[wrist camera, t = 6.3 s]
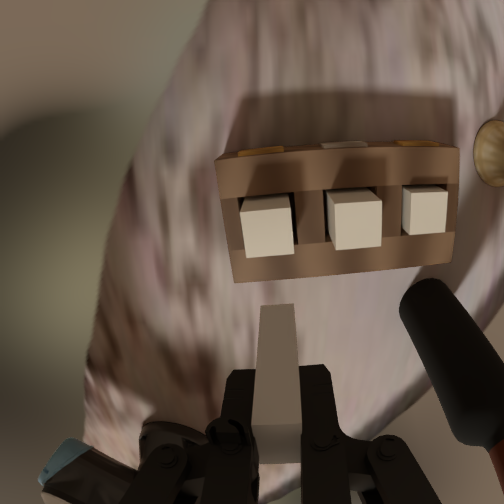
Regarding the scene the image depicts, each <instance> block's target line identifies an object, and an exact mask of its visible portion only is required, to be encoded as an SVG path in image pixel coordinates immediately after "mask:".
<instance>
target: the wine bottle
mask: <svg viewBox="0 0 504 504" xmlns="http://www.w3.org/2000/svg"><path fill="white" fill-rule="evenodd" d="M399 313H400V318H401V320H402V322H403V323H404V325H405V327H406V329H407V331H408V333H409V335H410V337H411V339H412V342H413V344H414V346H415V348H416V350H417V352H418V354H419V356H420V358H421V360H422V362H423V365H424V367H425V369H426V371H427V373H428V376H429V378H430V380H431V382H432V385H433V387H434V389H435V391H436V393H437V396H438V398H439V401H440V403H441V406H442V408H443V410H444V413H445V415H446V418H447V420H448V423H449V425H450V428H451V431H452V432H453V434H454V436H455V437H456V439H457V440H458V441H459V442H461V443H463V444H465V445H470V446H482V447H484V448H485V449H486V450H487V452H488V453H489V455H490V458H491V460H492V463H493V465H494V468H495V471H496V473H497V476H498V479H499V482H500V485H501V487H502V491H503V494H504V363H503V361H502V360H501V358H500V357H499V355H498V354H497V352H496V351H495V349H494V348H493V346H492V345H491V344H490V342H489V341H488V339H487V338H486V337H485V335H484V334H483V332H482V331H481V330H480V328H479V327H478V326H477V324H476V323H475V321H474V320H473V319H472V317H471V316H470V315H469V313H468V312H467V311H466V310H465V308H464V307H463V306H462V304H461V303H460V302H459V301H458V299H457V298H456V297H455V296H454V294H453V293H452V292H451V291H450V289H449V288H448V287H447V286H446V284H445V283H443V282H442V281H441V280H438V279H434V278H430V279H424V280H422V281H419V282H417V283H416V284H414V285H413V286H412V287H410V288H409V290H408V291H407V292H406V293H405V294H404V296H403V298H402V300H401V302H400V307H399Z"/></svg>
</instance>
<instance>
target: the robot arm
mask: <svg viewBox="0 0 504 504" xmlns="http://www.w3.org/2000/svg"><path fill="white" fill-rule="evenodd" d="M205 433H206V436H207V437H206V436H204V435H203V434H201V433H199V432H198V431H196V430H193V429H191V428H188V427H186V426H182V425H179V424H174V423H168V422H153V423H149V424H146V425H145V426H144V427H143V428H142V431H141V433H140V436H139V456H140V464H139V467H138V470H135V469H133V468H131V467H129V466H127V465H125V464H123V463H121V462H119V461H117V460H115V459H113V458H111V457H109V456H107V455H106V454H104V453H102V452H100V451H99V450H97V449H95V448H94V447H93V446H89V445H87V444H85V443H83V442H82V441H80V440H78V439H76V438H67V439H66V440H64V441H63V442H62V444H61V445H60V446H59V447H58V449H57V450H56V451H55V452H54V454H53V455H52V457H51V458H50V459H49V461H48V463H47V464H46V466H45V467H44V469H43V471H42V472H41V473H40V475H39V477H38V481H39V483H40V484H41V485H42V486H44V488H43V490H42V492H41V496H42V498H43V500H44V502H45V504H258V496H259V480H260V477H259V472H258V469H259V463H260V464H285V463H301V504H351V496H350V490H353V491H357V493H358V495H359V497H360V500H361V502H362V504H442V503H441V502H440V500H439V498H438V496H437V495H436V493H435V491H434V489H433V488H432V486H431V484H430V483H429V481H428V480H427V478H426V476H425V474H424V473H423V471H422V469H421V468H420V466H419V464H418V462H417V461H416V459H415V458H414V456H413V454H412V453H411V451H410V449H409V448H408V446H407V444H406V443H405V442H404V441H403V440H402V439H401V438H399V437H397V436H395V435H383V436H379V437H377V438H376V439H374V440H373V441H365V440H358V439H354V438H351V437H349V436H347V435H346V434H345V433H343V432H342V430H341V429H340V427H339V424H338V417H337V411H336V404H335V398H334V393H333V386H332V380H331V374H330V372H329V370H328V369H327V368H326V367H325V365H324V364H319V365H307V366H299V365H298V351H297V338H296V325H295V313H294V304H280V305H264V306H261V309H260V322H259V335H258V348H257V361H256V369H244V370H233V371H232V373H231V374H230V375H229V377H228V378H227V381H226V387H225V393H224V400H223V404H222V410H221V416H220V418H217V419H215V420H213V421H212V422H211V423H210V424H209V425H208V426H207V428H206V430H205Z"/></svg>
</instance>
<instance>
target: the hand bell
mask: <svg viewBox="0 0 504 504" xmlns="http://www.w3.org/2000/svg"><path fill="white" fill-rule="evenodd" d="M473 155H474V163H475V167H476V170H477V172H478V174H479V176H480V177H481V179H482V180H483V181H484V182H485V183H487V184H488V185H490V186H493V187H500V186H504V122H502V121H498V120H493V121H489V122H487V123H486V124H484V125H483V126H482V127H481V129H480V130H479V132H478V134H477V136H476V139H475V143H474V149H473Z"/></svg>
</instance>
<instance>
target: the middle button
mask: <svg viewBox="0 0 504 504" xmlns="http://www.w3.org/2000/svg"><path fill="white" fill-rule="evenodd" d="M325 197H326V215H327V230H328V233H329V235H330V237H331V240H332V242H333V244H334V247H335V249H336V250H346V249H357V248H368V247H379V246H381V234H382V200H381V199H379V198H378V197H377V196H376V195H375V194H374V193H373V192H371V191H370V190H369V189H368V188H367V187H353V188H338V189H325Z"/></svg>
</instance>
